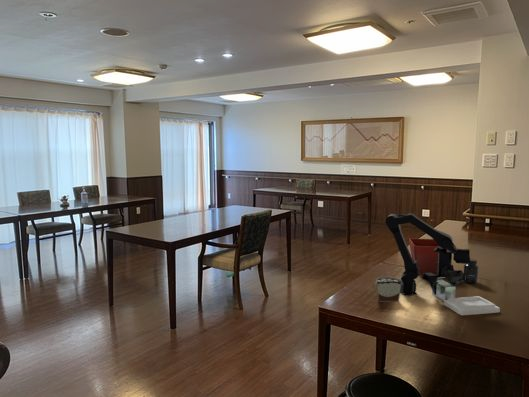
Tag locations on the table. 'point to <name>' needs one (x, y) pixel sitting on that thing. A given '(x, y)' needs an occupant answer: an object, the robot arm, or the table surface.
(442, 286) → the block
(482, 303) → the white rectangular tray
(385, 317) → the table surface
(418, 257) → the plant pot
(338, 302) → the table surface
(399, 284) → the food container
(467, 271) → the supplement bottle
